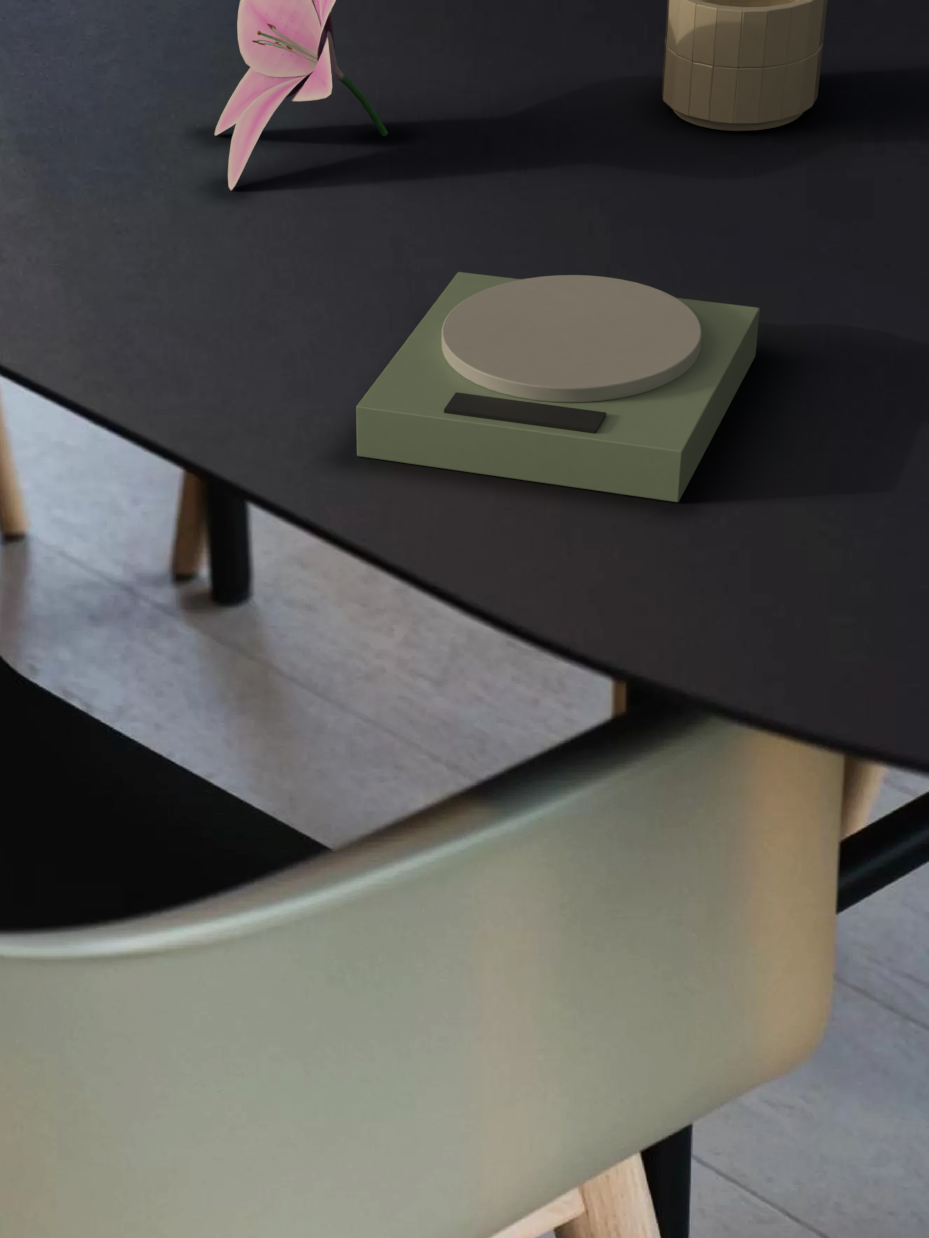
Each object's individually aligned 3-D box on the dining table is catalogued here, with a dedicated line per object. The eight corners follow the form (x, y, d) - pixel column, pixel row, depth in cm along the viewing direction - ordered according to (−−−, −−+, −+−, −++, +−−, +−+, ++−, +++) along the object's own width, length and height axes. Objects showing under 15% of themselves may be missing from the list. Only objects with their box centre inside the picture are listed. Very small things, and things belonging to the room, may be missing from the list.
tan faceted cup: (829, 86, 118) (842, -36, 114) (797, 141, 113) (809, 15, 109) (682, 72, 120) (690, -48, 116) (644, 126, 115) (651, 2, 111)
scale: (755, 356, 97) (761, 291, 95) (678, 503, 89) (683, 435, 87) (457, 318, 101) (458, 256, 99) (356, 456, 92) (355, 390, 91)
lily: (267, 104, 122) (165, -58, 115) (487, 21, 116) (393, -155, 109) (228, 277, 116) (118, 116, 109) (458, 198, 110) (357, 24, 103)
